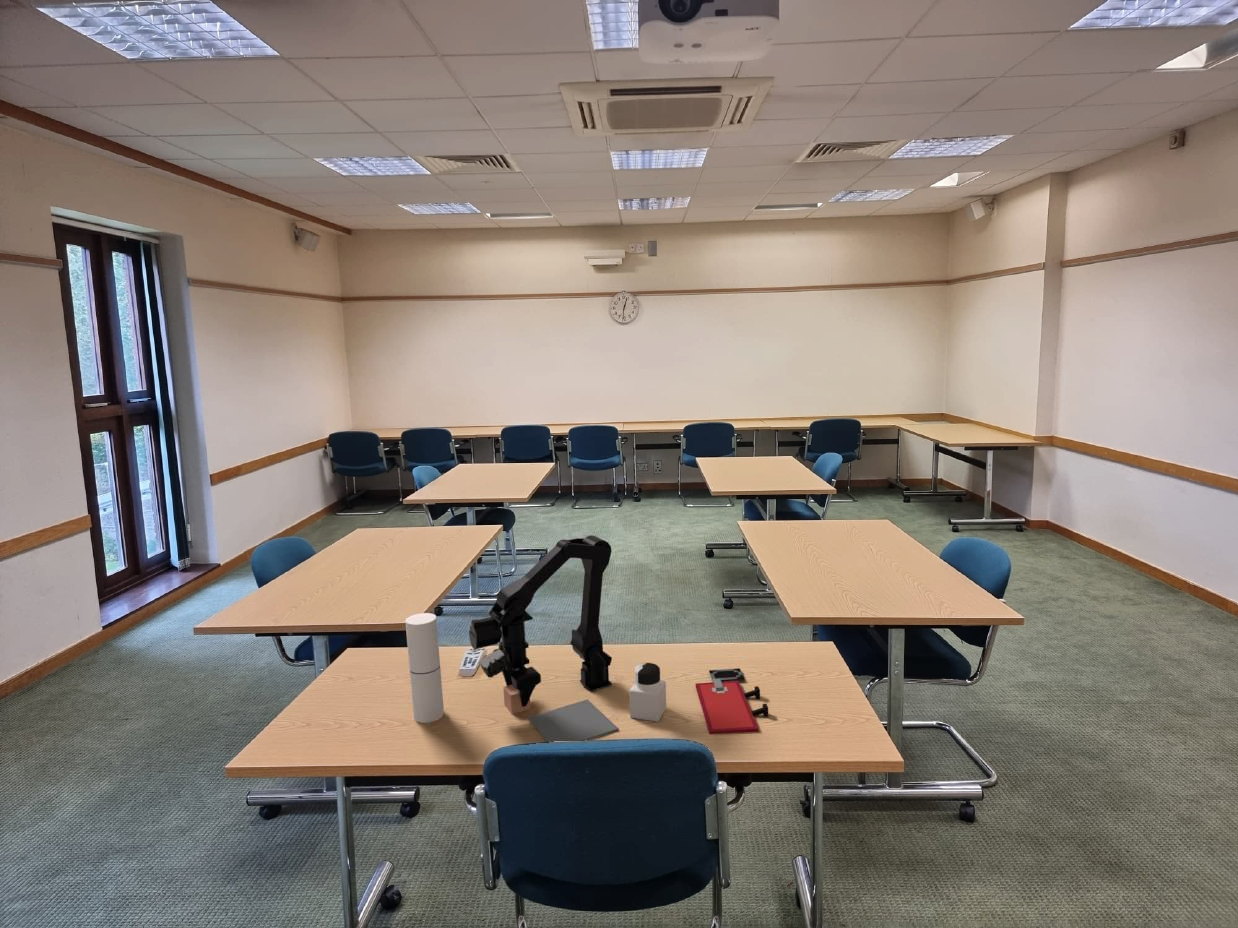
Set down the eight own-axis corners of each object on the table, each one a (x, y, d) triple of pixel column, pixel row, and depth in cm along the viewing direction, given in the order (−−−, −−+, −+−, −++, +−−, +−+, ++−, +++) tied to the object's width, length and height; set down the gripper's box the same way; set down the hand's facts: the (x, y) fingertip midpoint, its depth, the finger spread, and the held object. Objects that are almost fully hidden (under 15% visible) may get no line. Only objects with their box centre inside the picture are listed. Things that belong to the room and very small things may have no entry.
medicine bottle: (666, 707, 172) (665, 661, 170) (658, 722, 166) (657, 674, 164) (638, 703, 175) (637, 658, 173) (629, 717, 168) (628, 671, 166)
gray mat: (587, 700, 177) (587, 699, 177) (618, 730, 163) (618, 728, 163) (528, 719, 169) (528, 717, 169) (555, 751, 155) (555, 749, 155)
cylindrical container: (417, 725, 168) (408, 626, 163) (411, 712, 174) (402, 616, 170) (447, 717, 171) (439, 620, 167) (440, 704, 177) (432, 610, 173)
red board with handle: (746, 670, 190) (691, 674, 190) (746, 661, 190) (691, 664, 189) (774, 732, 161) (709, 737, 160) (774, 721, 160) (709, 726, 160)
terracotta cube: (523, 700, 178) (522, 681, 178) (530, 708, 174) (529, 689, 173) (504, 705, 176) (503, 686, 175) (511, 714, 172) (510, 695, 171)
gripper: (470, 633, 176) (474, 691, 179) (495, 661, 160) (499, 724, 163) (511, 623, 182) (515, 680, 184) (540, 649, 165) (543, 711, 168)
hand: (517, 698), depth 175 cm, fingers open, 9 cm apart
